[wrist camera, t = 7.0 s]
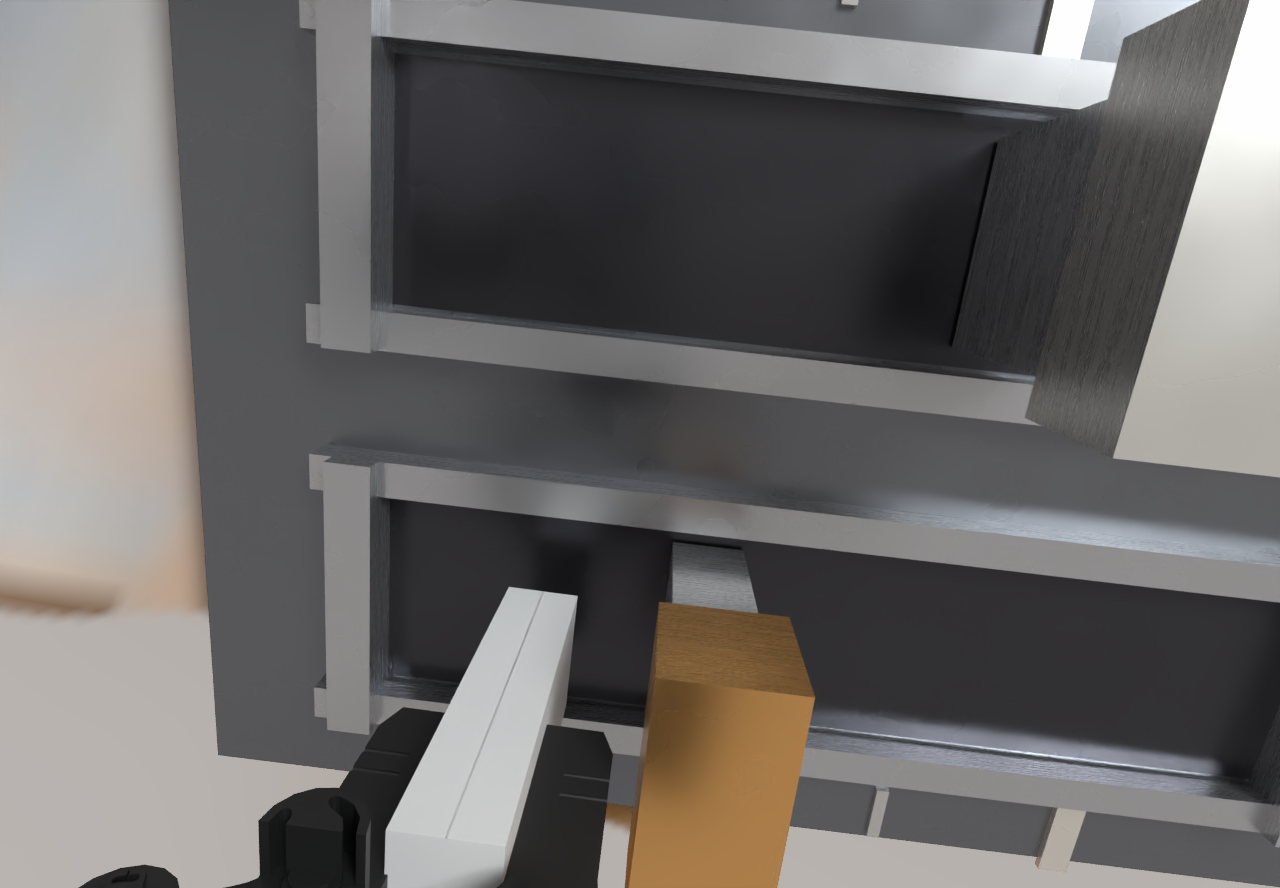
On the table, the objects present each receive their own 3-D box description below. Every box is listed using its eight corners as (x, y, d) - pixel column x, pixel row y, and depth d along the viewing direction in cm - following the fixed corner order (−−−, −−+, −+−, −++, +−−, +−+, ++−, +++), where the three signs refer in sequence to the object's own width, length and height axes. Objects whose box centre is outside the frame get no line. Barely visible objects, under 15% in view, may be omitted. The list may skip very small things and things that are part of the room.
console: (262, 712, 20) (187, 795, 17) (225, -115, 15) (105, -214, 12) (1311, 842, 19) (1431, 952, 16) (1674, 32, 14) (1953, -30, 11)
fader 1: (638, 714, 17) (619, 965, 11) (662, 515, 16) (655, 677, 10) (728, 725, 17) (757, 983, 11) (760, 527, 15) (815, 697, 10)
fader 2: (931, 374, 14) (1112, 457, 8) (990, 102, 13) (1258, -28, 7) (1036, 386, 14) (1295, 478, 8) (1108, 114, 13) (1477, -6, 7)
